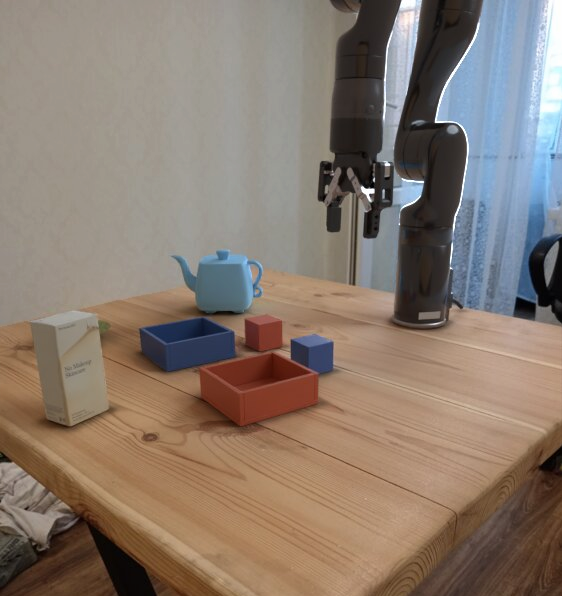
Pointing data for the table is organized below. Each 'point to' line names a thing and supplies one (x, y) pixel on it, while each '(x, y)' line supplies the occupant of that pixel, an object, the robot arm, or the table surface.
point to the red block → (263, 332)
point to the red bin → (258, 387)
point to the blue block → (313, 352)
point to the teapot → (222, 282)
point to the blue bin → (187, 343)
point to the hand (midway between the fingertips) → (350, 235)
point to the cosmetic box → (70, 366)
